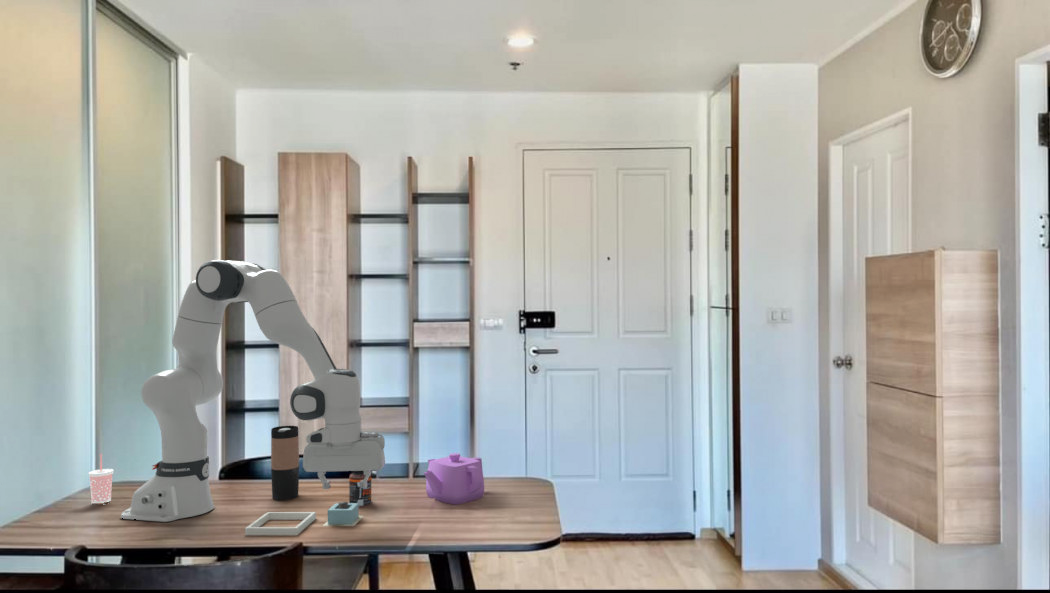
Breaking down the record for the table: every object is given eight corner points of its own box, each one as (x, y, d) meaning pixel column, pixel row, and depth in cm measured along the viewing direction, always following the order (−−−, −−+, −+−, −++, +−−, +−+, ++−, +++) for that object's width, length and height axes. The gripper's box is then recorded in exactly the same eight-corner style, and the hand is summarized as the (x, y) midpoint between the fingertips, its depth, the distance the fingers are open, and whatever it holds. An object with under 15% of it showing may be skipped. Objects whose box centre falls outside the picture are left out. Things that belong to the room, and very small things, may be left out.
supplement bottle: (365, 510, 182) (365, 468, 182) (345, 509, 183) (345, 467, 183) (375, 504, 188) (374, 463, 188) (355, 503, 189) (354, 462, 189)
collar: (327, 524, 168) (327, 510, 168) (337, 515, 175) (337, 501, 175) (351, 524, 167) (351, 510, 168) (360, 515, 175) (360, 501, 175)
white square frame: (245, 539, 161) (244, 528, 161) (267, 522, 173) (267, 512, 173) (297, 539, 160) (297, 528, 160) (315, 522, 173) (315, 512, 173)
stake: (322, 529, 167) (322, 507, 167) (333, 519, 175) (332, 498, 175) (354, 529, 166) (354, 507, 166) (363, 519, 174) (363, 498, 174)
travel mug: (290, 491, 202) (289, 424, 202) (304, 496, 197) (303, 427, 197) (266, 497, 196) (265, 428, 196) (280, 502, 191) (280, 431, 192)
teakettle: (484, 504, 186) (483, 459, 187) (422, 506, 186) (421, 461, 186) (485, 488, 204) (484, 447, 204) (428, 489, 203) (427, 448, 203)
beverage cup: (87, 502, 193) (87, 453, 194) (112, 498, 197) (112, 450, 197) (89, 507, 189) (89, 457, 189) (115, 503, 192) (114, 453, 192)
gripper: (387, 430, 174) (388, 484, 173) (308, 432, 174) (310, 485, 174) (381, 434, 167) (382, 490, 167) (299, 436, 168) (301, 492, 168)
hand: (345, 488), depth 171 cm, fingers open, 8 cm apart
